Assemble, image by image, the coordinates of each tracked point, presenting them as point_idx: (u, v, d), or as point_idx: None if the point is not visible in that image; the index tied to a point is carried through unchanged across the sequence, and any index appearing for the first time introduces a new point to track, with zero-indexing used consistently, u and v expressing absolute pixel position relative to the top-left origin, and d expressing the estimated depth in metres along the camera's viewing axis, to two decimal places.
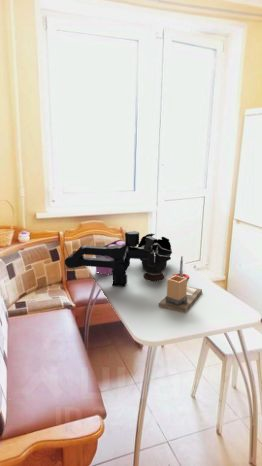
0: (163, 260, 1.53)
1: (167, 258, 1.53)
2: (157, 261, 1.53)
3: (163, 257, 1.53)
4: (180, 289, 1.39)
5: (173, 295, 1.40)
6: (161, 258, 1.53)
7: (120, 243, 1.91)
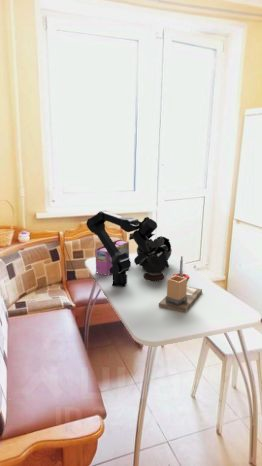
0: (149, 268, 1.43)
1: (153, 270, 1.43)
2: (144, 264, 1.44)
3: (150, 266, 1.43)
4: (180, 289, 1.39)
5: (173, 295, 1.40)
6: (148, 265, 1.43)
7: (120, 243, 1.91)
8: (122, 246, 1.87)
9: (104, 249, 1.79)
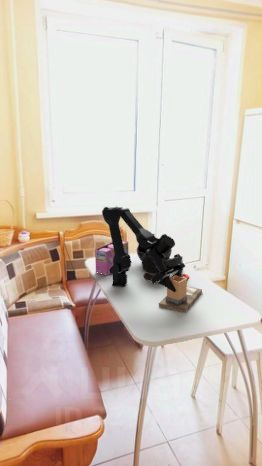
0: (168, 286, 1.40)
1: (172, 289, 1.39)
2: (163, 282, 1.40)
3: (170, 285, 1.39)
4: (180, 289, 1.39)
5: (173, 295, 1.40)
6: (168, 284, 1.39)
7: None
8: None
9: (104, 249, 1.79)
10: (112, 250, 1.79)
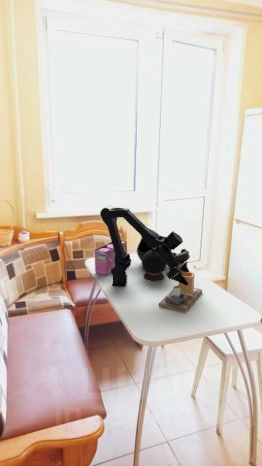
0: (180, 281, 1.48)
1: (185, 282, 1.48)
2: (175, 277, 1.48)
3: (183, 279, 1.48)
4: (192, 283, 1.51)
5: (185, 290, 1.51)
6: (180, 278, 1.48)
7: None
8: None
9: (103, 249, 1.79)
10: (111, 250, 1.79)
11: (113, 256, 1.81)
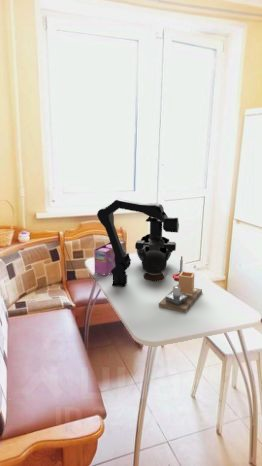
0: None
1: None
2: None
3: None
4: (192, 283, 1.51)
5: (185, 290, 1.51)
6: (143, 253, 1.58)
7: None
8: None
9: (103, 249, 1.79)
10: (111, 250, 1.79)
11: (112, 256, 1.81)
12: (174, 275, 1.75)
